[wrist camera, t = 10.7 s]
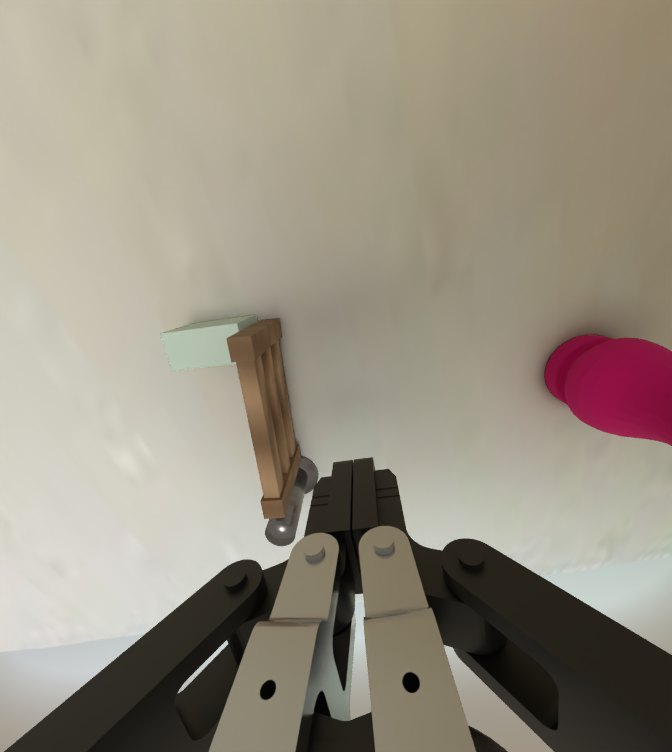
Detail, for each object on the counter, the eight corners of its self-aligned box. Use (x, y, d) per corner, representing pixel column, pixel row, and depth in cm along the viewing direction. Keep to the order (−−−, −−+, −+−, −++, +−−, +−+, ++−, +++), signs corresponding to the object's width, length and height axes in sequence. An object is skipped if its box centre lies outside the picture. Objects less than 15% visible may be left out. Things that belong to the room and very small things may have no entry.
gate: (260, 320, 28) (226, 338, 20) (278, 318, 28) (250, 335, 20) (285, 460, 32) (264, 518, 25) (301, 459, 32) (284, 517, 24)
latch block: (256, 314, 28) (236, 323, 24) (263, 347, 29) (245, 362, 24) (191, 323, 29) (159, 333, 24) (200, 355, 30) (171, 371, 25)
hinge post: (314, 453, 32) (302, 509, 25) (321, 490, 34) (311, 553, 26) (271, 457, 33) (247, 513, 25) (280, 493, 34) (259, 557, 26)
